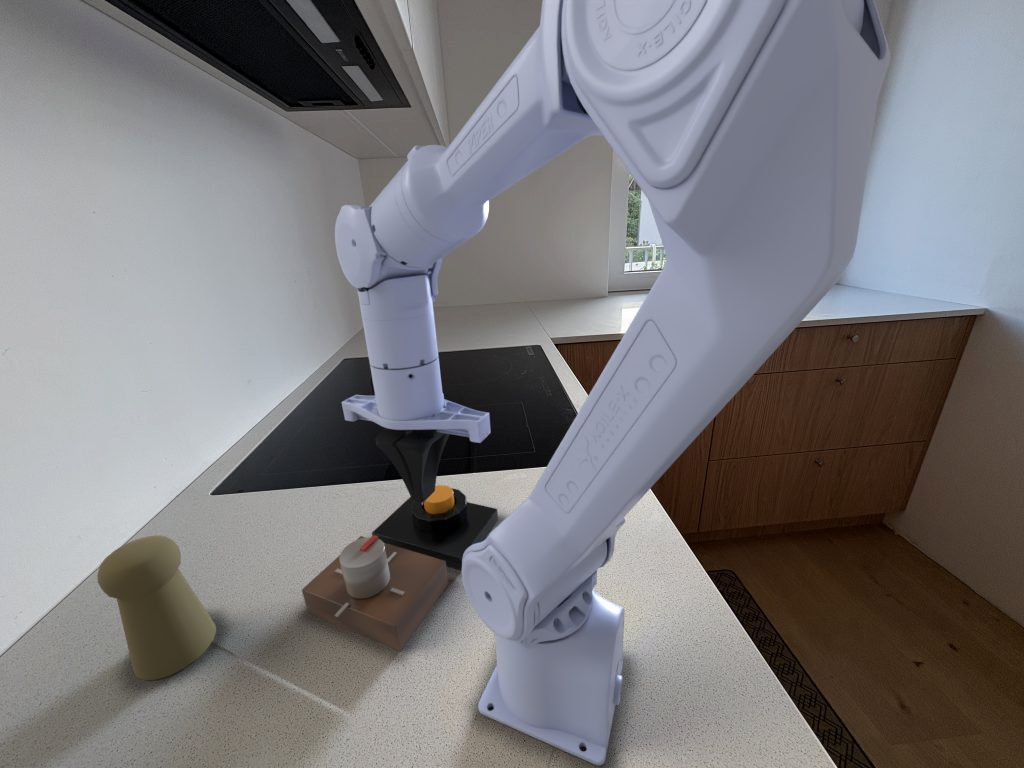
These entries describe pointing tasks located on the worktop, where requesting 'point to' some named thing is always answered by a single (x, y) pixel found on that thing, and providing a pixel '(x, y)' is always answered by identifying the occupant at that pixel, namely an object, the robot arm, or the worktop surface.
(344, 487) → the worktop surface
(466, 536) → the lamp switch
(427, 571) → the dimmer panel
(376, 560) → the dimmer knob
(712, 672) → the worktop surface
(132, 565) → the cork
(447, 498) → the power button
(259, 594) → the worktop surface
